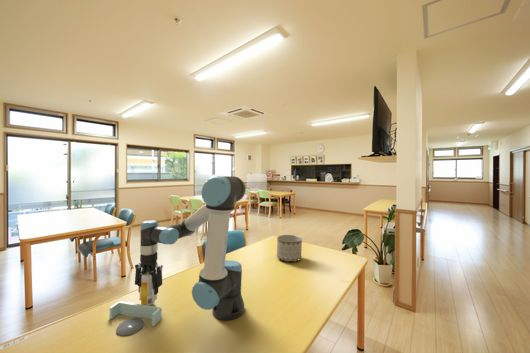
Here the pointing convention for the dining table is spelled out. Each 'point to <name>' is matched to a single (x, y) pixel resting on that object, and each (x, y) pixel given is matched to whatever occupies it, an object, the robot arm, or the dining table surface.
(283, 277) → the dining table surface
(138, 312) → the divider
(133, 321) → the coaster
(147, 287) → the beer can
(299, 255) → the planter
